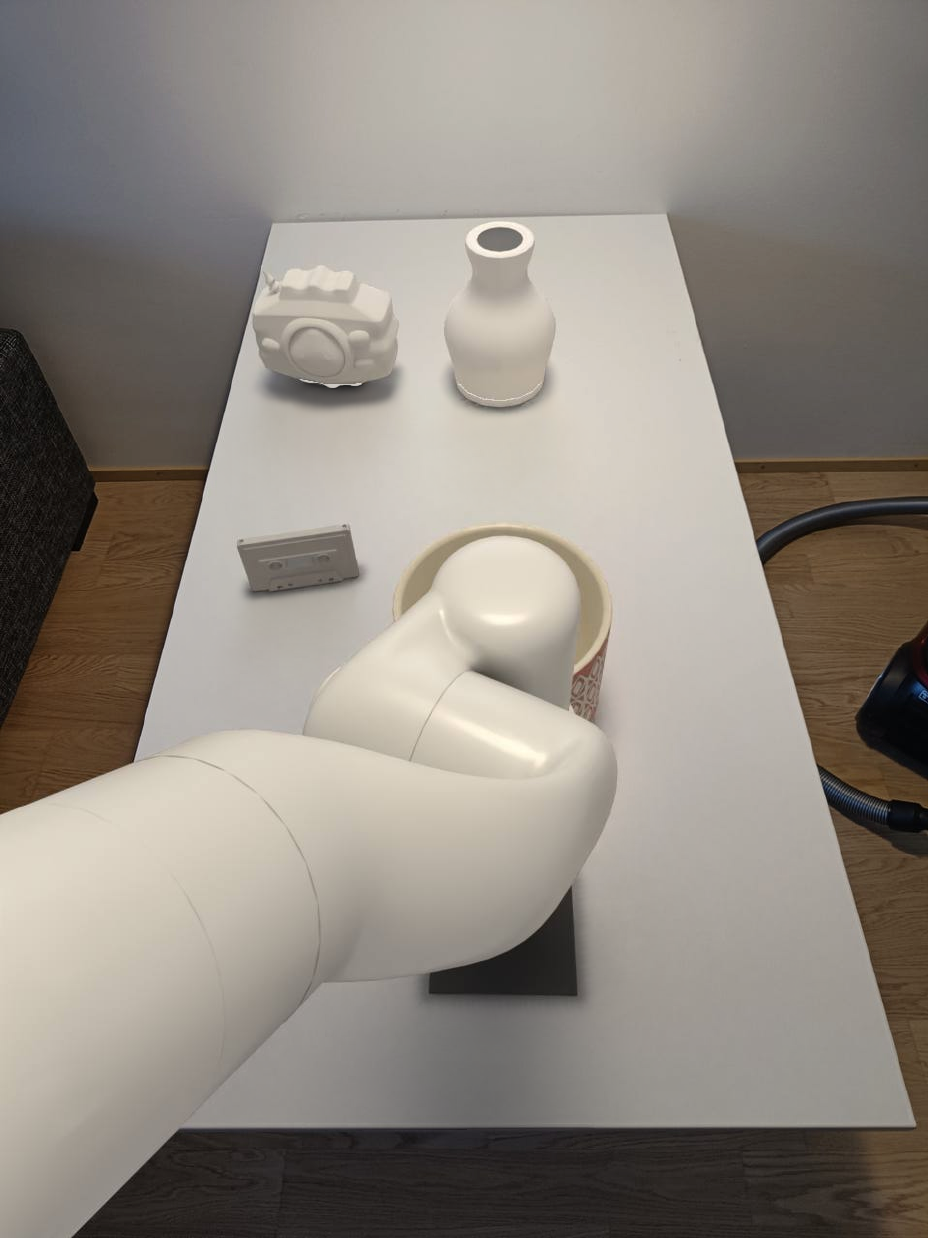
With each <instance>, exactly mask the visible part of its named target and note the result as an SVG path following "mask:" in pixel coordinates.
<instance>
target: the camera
mask: <svg viewBox="0 0 928 1238" xmlns="http://www.w3.org/2000/svg"><path fill="white" fill-rule="evenodd" d="M261 271H262V274H263V275H264V278H265V284H266V285H267V286H266V287H264V288H263V289H262V290H261V292H260V294H259V296H258V297H257V299H256V302H255V305H254V306H253V309H252V329H253V331H254V333H255V341H256V345H257V347H258V356H259V358H260V360H261V363H262V364H263V365H264V368H265V369H267V370H268V371H271V372H273V373H276V374H277V373H278V374H281V375H284V376H287V377H291V378H294V379H296V378H298V379H303V380H308V381H313V382H318V383H323V384H356V383H364V384H365V383H367V382H370V381H376V380H380V379H383V378H386V377H388V376H389V375H390V374H391V373H392V371H393V369H394V366H395V364H396V363H395V362H396V360H397V356H398V351H399V344H398V338H397V336H398V331H399V327H400V324H399V318H398V317H397V315H396V314H395V313H394V310H393V299H392V296H391V294H390V293H389V292H388V291H385V290H383V289H380V288H378V287H375V286H372V285H369V284H366V283H363V282H360V281H359V280H358V278H357V276H356V275H355V273H354V272H352V271H348V270H342V271H334V270H331V269H330V268H329V267H327V266H325V265H317V266H315V267H314V268H312V269H309V270H306V269H301V268H298V267H297V268H290V269H288V270H287V271H286V273H285V274H284V276H283V279H282V280H280V281H276V277H275V276H273V275H272V274H270V273H268V272H267V270H265V269H264V268H262V270H261ZM298 379H297V380H298Z"/></svg>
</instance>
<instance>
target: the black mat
mask: <svg viewBox="0 0 928 1238" xmlns="http://www.w3.org/2000/svg"><path fill="white" fill-rule="evenodd" d="M572 885H573V884H572ZM572 885H571V886H570V888H569V889H568V891H567V893H566V894H565V895H564V897H563V898H562V900H561V902H560V903H559V905H558V906H557V908H556V909H555V910H554V912H553V913H552V914H551V915H550V917H549V918H548V919H547V920H546V921H545V923H544V924H543V925H542V926H541V927H540V928H539V929H538V930H537V931H536V932H535V933H533V934H532V935H531V936H530V937H529V938H527V939H526V940H525V941H523V942H522V943H520V944H519V945H517V946H515V947H514V948H512V949H510V950H509V951H507V952H504V953H502V954H500V955H497V956H495V957H493V958H490V959H487V960H483V961H480V962H476V963H473V964H469V965H465V966H460V967H455V968H450V969H445V970H441V971H436V972H431V973H429V976H428V977H429V979H428V984H429V985H428V994H434V995H436V994H437V995H439V994H440V995H441V994H442V995H443V994H444V995H513V996H514V995H515V996H519V995H520V996H578V980H577V979H578V977H577V961H576V942H575V926H574V925H575V922H574V921H575V920H574V905H573V902H574V901H573V886H572Z"/></svg>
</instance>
